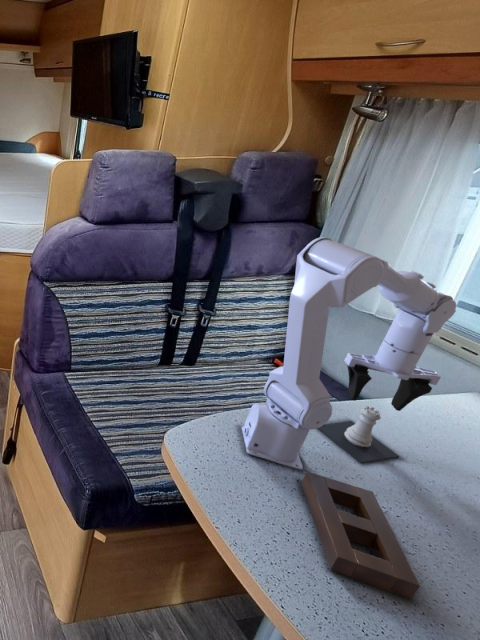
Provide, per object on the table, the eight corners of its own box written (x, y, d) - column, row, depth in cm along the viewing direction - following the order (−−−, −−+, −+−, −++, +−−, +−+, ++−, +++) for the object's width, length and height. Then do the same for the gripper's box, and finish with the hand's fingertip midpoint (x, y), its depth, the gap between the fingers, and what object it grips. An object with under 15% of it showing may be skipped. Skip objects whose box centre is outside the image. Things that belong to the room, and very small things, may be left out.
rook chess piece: (375, 450, 94) (392, 419, 91) (351, 446, 95) (367, 415, 91) (361, 434, 98) (377, 404, 95) (338, 430, 99) (353, 401, 96)
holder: (330, 569, 70) (337, 556, 69) (300, 482, 85) (306, 470, 84) (411, 599, 67) (420, 586, 66) (365, 503, 82) (372, 491, 81)
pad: (360, 463, 91) (361, 462, 91) (315, 426, 100) (315, 425, 100) (398, 457, 93) (399, 456, 93) (351, 421, 102) (351, 420, 102)
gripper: (368, 347, 86) (339, 405, 91) (463, 366, 83) (427, 425, 88) (352, 328, 92) (326, 384, 98) (439, 346, 89) (407, 402, 94)
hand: (373, 402), depth 93 cm, fingers open, 7 cm apart
